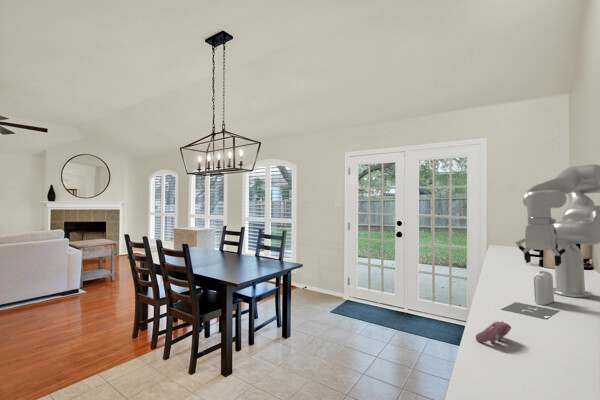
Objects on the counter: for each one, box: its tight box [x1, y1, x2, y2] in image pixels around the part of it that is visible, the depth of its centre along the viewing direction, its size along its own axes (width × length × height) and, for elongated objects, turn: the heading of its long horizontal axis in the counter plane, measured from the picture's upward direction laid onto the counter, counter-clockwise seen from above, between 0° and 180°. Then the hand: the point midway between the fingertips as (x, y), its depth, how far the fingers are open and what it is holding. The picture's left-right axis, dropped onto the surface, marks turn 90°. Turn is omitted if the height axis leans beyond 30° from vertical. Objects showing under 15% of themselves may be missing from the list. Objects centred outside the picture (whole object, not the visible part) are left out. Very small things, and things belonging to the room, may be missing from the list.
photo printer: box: [533, 270, 555, 306], centre depth 122 cm, size 10×4×12 cm, turn 125°
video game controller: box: [475, 320, 512, 344], centre depth 89 cm, size 10×5×7 cm, turn 119°
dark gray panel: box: [500, 301, 560, 320], centre depth 114 cm, size 14×14×1 cm
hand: (542, 263), depth 123 cm, fingers open, 9 cm apart
